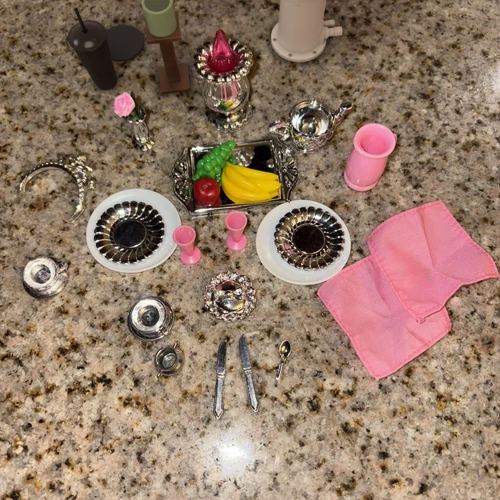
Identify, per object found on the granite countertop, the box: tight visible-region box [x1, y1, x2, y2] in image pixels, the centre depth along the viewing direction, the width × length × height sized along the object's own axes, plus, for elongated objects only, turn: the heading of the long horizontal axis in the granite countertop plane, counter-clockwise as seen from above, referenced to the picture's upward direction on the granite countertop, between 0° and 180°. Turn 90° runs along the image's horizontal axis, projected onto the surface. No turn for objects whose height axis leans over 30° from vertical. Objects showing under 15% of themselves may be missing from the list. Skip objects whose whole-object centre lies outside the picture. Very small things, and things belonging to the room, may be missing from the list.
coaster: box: [106, 24, 145, 62], centre depth 112 cm, size 10×10×1 cm
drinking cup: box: [67, 7, 118, 91], centre depth 99 cm, size 8×8×20 cm
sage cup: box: [141, 0, 177, 37], centre depth 91 cm, size 6×6×6 cm
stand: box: [144, 10, 192, 95], centre depth 101 cm, size 6×6×16 cm
